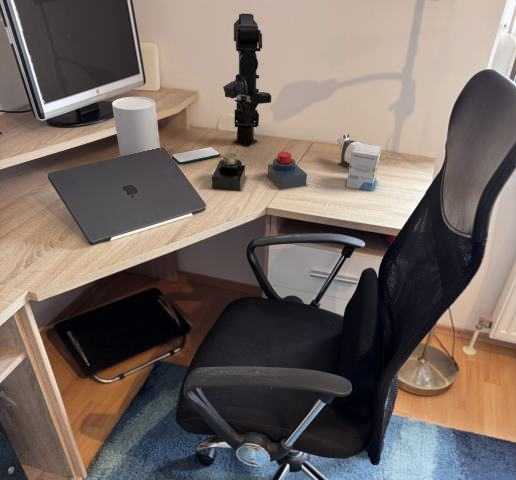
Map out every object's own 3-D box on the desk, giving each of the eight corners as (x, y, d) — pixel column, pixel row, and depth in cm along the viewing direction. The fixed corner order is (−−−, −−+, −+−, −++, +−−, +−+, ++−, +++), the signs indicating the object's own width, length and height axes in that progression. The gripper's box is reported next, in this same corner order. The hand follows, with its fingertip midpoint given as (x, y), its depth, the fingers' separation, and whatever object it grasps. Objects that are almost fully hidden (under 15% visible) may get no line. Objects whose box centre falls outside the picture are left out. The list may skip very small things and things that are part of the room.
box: (266, 175, 168) (267, 159, 164) (290, 171, 171) (291, 155, 167) (281, 189, 160) (282, 172, 157) (306, 185, 163) (307, 168, 159)
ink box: (375, 181, 167) (382, 146, 159) (371, 191, 161) (378, 155, 153) (350, 177, 169) (356, 142, 161) (345, 186, 163) (351, 151, 155)
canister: (167, 168, 170) (161, 106, 157) (130, 175, 165) (120, 112, 152) (152, 154, 179) (145, 94, 165) (116, 161, 173) (106, 99, 160)
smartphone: (180, 165, 173) (221, 156, 179) (179, 162, 172) (221, 154, 178) (171, 157, 178) (211, 149, 184) (170, 154, 177) (211, 146, 183)
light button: (224, 160, 163) (224, 152, 161) (238, 162, 163) (238, 153, 161) (222, 166, 160) (222, 157, 158) (235, 167, 160) (235, 158, 158)
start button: (275, 160, 164) (275, 152, 163) (287, 159, 166) (288, 151, 164) (281, 166, 161) (281, 157, 160) (293, 164, 163) (293, 155, 161)
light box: (219, 174, 168) (218, 157, 164) (245, 176, 167) (245, 159, 164) (212, 188, 159) (211, 171, 156) (240, 191, 159) (240, 174, 155)
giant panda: (367, 171, 173) (372, 143, 167) (354, 174, 171) (359, 146, 164) (342, 156, 182) (346, 129, 176) (329, 159, 180) (333, 132, 174)
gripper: (210, 69, 163) (212, 120, 172) (244, 75, 151) (244, 130, 160) (238, 68, 169) (238, 117, 178) (273, 73, 157) (271, 126, 165)
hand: (247, 123), depth 170 cm, fingers closed
